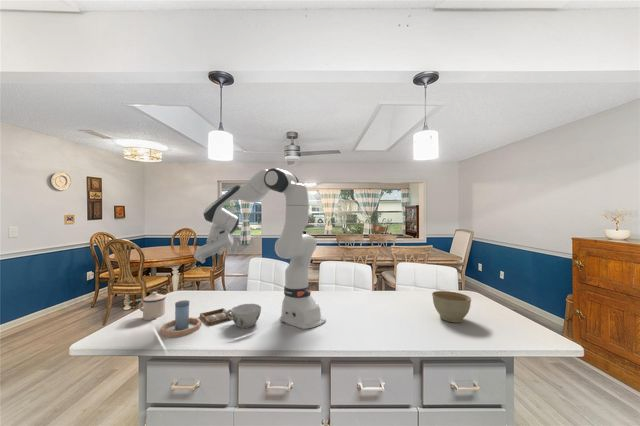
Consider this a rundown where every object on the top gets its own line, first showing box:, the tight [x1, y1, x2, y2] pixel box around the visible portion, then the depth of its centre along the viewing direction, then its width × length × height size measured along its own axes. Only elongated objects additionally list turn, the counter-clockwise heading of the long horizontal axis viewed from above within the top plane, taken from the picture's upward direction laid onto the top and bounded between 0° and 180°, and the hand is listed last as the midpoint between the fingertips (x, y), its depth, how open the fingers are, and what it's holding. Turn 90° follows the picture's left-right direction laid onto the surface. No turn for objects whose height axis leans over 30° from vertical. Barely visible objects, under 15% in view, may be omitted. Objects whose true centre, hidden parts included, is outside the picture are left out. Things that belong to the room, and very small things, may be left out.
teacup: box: [227, 303, 262, 329], centre depth 107 cm, size 15×12×8 cm
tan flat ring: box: [160, 316, 202, 338], centre depth 103 cm, size 14×14×3 cm
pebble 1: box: [209, 315, 217, 321], centre depth 110 cm, size 3×3×3 cm
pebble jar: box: [174, 300, 190, 331], centre depth 103 cm, size 5×5×11 cm
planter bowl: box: [431, 290, 472, 323], centre depth 116 cm, size 16×16×11 cm
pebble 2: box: [219, 313, 226, 319], centre depth 112 cm, size 3×3×3 cm
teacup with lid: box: [138, 291, 167, 321], centre depth 118 cm, size 12×9×12 cm
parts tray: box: [199, 308, 232, 326], centre depth 114 cm, size 13×11×2 cm
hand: (211, 258), depth 119 cm, fingers open, 8 cm apart
